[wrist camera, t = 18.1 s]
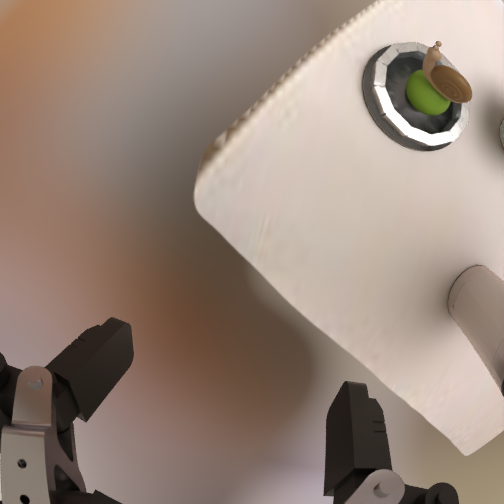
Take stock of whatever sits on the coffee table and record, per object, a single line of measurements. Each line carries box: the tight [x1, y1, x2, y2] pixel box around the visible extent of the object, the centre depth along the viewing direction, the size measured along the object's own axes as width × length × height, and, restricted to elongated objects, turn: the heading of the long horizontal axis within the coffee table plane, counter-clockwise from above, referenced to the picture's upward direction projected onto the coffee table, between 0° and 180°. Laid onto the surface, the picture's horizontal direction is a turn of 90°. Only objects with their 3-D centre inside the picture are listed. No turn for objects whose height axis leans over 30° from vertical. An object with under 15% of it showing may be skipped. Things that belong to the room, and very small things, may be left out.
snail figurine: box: [406, 41, 472, 115], centre depth 19 cm, size 5×6×12 cm
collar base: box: [363, 42, 470, 151], centre depth 24 cm, size 14×14×3 cm
